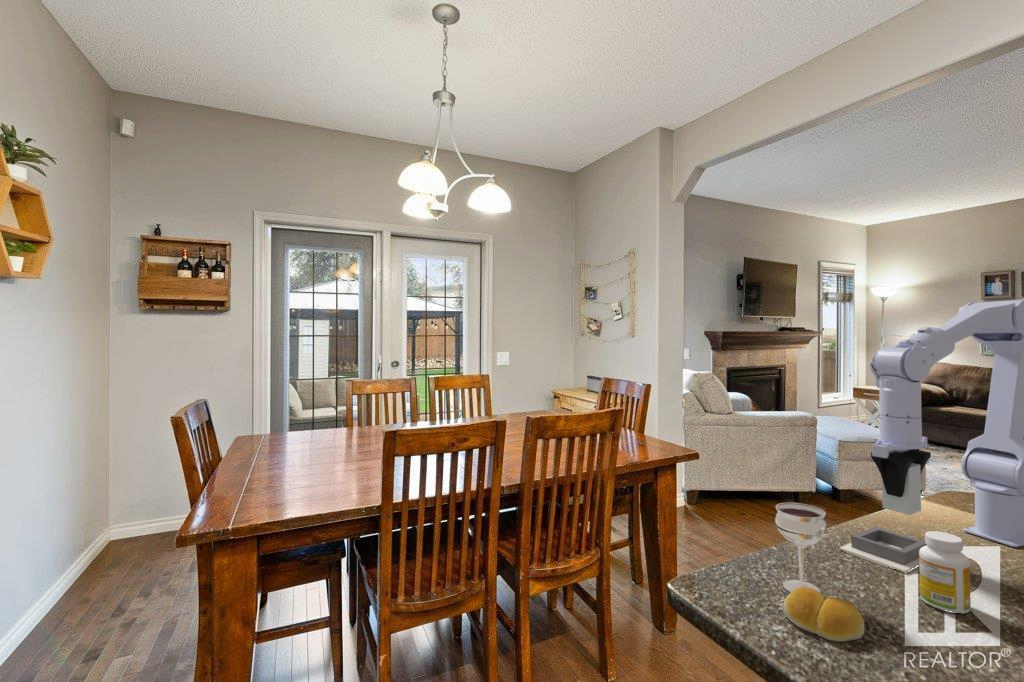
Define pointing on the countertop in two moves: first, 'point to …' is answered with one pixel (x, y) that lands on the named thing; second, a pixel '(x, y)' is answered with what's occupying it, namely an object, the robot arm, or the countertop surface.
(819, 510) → the wineglass
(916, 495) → the block
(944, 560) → the supplement bottle
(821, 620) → the bread roll
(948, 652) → the countertop surface
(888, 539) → the dock
